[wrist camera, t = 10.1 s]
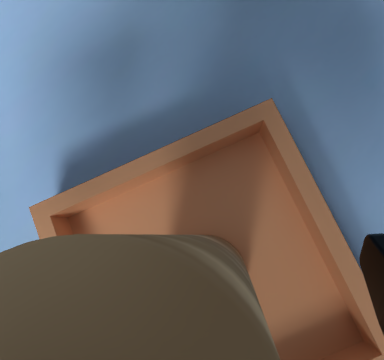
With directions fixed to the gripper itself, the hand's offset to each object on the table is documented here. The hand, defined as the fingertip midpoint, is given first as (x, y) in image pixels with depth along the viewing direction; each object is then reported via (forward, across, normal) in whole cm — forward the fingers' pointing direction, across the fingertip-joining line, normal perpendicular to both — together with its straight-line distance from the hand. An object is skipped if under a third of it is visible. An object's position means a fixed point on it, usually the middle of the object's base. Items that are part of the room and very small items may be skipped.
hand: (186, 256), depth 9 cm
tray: (+5, 0, +7) cm, 9 cm away
